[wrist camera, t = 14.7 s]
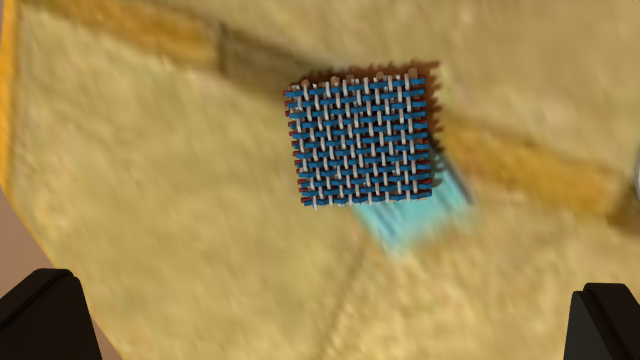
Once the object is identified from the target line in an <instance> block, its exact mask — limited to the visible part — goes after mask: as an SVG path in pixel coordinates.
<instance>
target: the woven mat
mask: <svg viewBox="0 0 640 360" xmlns="http://www.w3.org/2000/svg"><path fill="white" fill-rule="evenodd" d="M330 79H331V84H329V82H326V83H325V82H321V83H318V87H317V86H316V84H313V88H311V86H310V83H309V81H308V79H307V80H303V81H302V83H301V87H302V89H300V87H299V84H298V85H290V86H288V88H289V90H287V91H283V96H286V97H290V101H285V107H286V106H288V108H289V109H290V110H289V111H285V115H286V116H289V117H290V118H292V120H293V122H288V126H289V127H291V129H295V131H292V132H289V136H293V138H295V139H297V141H292V146H294V149H298V151H293V156H296V158H300V160H295V161H294V162H295V166H297V168H298V169H296V172H297V173H298V174H299V177H302V179H299V180H298V185H299V184H301V187H302V188H299V192H301V193H302V196H306V197H302V198H301V203H304V205H305V206H308V205H311V208H314V207H315V209H316V210H318V206H317V205H321V206H322V207H326V205H327V204H329V203H330V206H331V207H333V206H334V205H333V203H335V204H338V206H341V204H342V208H345V203H347V204H349V205H350V206H353V203H358V205H361V202H364V201H366V202H365V204H367V205H368V204H369V205H373V204H372V201H374V202H377V204H379V203H381V201H383V200H386V203H390V202H395V201H399V202H403V201H402V200H403V199H405V200H407V201H408V202H410V199H413V200H415V201H418V199H419V200H425V199H426V197H431V196H432V189H431V188H432V186H431V183H432V178H431V179H425V178H428V177H430V175H431V172H430V170H424V169H430V160H424V159H423V158H424V157H429V150H423V149H429V139H422V137H427V136H428V130H421V128H428V125H427V119H423V120H421V116H426V114H427V113H426V109H420V107H423V106H426V98H422V99H419V95H420V94H425V92H426V91H425V87H419V88H418V84H424V83H425V80H426V77H425V75H418V74H417V68H410V69H409V70H408V74H405V77H403V78H400V74H399V75H398V74H394V75H388V80H387V75H386V76H384V74H383V71H381V72H377V74H376V76H375V78H374V81H370V80H369V78H368V77H365V78H363V79H362V81H361V82H359V79H358V78H357V79H355V81H356V83H355V81H354V75H346V80H343V84H340V78H339V77H336V76H333V77H332V78H330ZM346 82H347V84H346ZM403 85H405V87H406V89H401V86H403ZM387 86H389V91H388V88H387ZM409 87H410V89H409ZM296 88H297V89H296ZM371 88H372V89H375V91H371ZM361 89H362V92H361V93H360V90H361ZM356 90H357V94H356ZM342 91H343V92H344V95H342V93H341V92H342ZM347 91H348V93H347ZM326 93H327V94H326ZM330 93H332V95H333V97H331V95H330ZM303 95H304V97H305V99H303V100H301V96H303ZM312 95H315V98H313V96H312ZM318 95H319V97H320V98H319V97H318ZM402 97H406V99H402ZM410 97H411V99H410ZM374 99H376V103H372V100H374ZM388 99H390V101H388ZM361 100H363V104H361ZM357 102H358V105H357ZM343 103H345V105H346V106H343ZM332 104H335V107H333V105H332ZM314 105H316V109H314ZM319 105H320V106H321V108H320V106H319ZM328 105H329V108H328ZM303 107H306V109H303ZM390 108H391V112H390V111H389V109H390ZM404 108H407V111H403V109H404ZM364 111H365V115H363V112H364ZM373 111H377V113H375V114H374V112H373ZM345 113H346V114H347V116H344V114H345ZM358 113H359V114H360V115H358ZM329 114H330V117H329ZM334 114H336V117H334ZM350 114H351V116H350ZM304 117H308V120H305V118H304ZM316 117H318V118H316ZM404 119H408V121H404ZM391 120H392V122H391ZM374 121H378V124H375V122H374ZM359 122H360V124H359ZM364 122H366V124H364ZM347 124H348V125H347ZM336 125H337V126H336ZM346 125H347V126H346ZM317 126H319V129H317ZM331 126H333V128H332V127H331ZM306 128H309V130H306ZM391 129H393V131H391ZM406 129H409V131H405V130H406ZM375 131H376V132H379V133H376V132H375ZM365 132H367V135H366V133H365ZM361 133H362V135H361ZM333 134H334V138H333ZM347 134H349V136H347ZM337 135H339V137H337ZM308 137H309V138H308ZM318 137H321V138H318ZM324 137H325V138H324ZM306 138H308V139H306ZM406 140H408V141H406ZM379 141H380V144H377V142H379ZM393 141H394V143H392V142H393ZM362 143H363V145H362ZM367 143H368V144H369V145H367ZM320 146H322V149H320ZM325 146H326V148H325ZM309 148H311V149H312V150H309ZM410 149H411V151H409V152H407V150H410ZM393 150H395V152H394V153H393ZM349 154H351V156H349ZM335 155H336V157H335ZM340 156H341V157H340ZM311 157H314V159H311ZM322 157H324V158H322ZM381 161H382V163H381V164H379V162H381ZM364 163H365V165H364ZM368 163H370V164H368ZM328 165H329V167H328ZM340 165H342V166H341V167H340ZM350 165H353V166H350ZM323 166H324V167H325V168H323ZM312 167H315V168H312ZM395 170H396V171H395ZM409 170H412V171H409ZM371 172H372V174H369V173H371ZM380 172H383V173H380ZM352 174H354V175H352ZM357 174H358V175H357ZM315 176H316V177H317V178H314V177H315ZM409 180H413V181H409ZM370 181H371V182H373V183H371V182H370ZM382 181H384V182H383V183H380V182H382ZM343 184H345V185H343ZM326 185H327V186H326ZM315 186H316V187H315ZM411 189H414V190H411ZM373 191H374V192H373ZM371 192H373V193H371ZM354 193H356V194H354Z"/></svg>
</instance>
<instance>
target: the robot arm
mask: <svg viewBox="0 0 640 360" xmlns="http://www.w3.org/2000/svg"><path fill="white" fill-rule="evenodd" d="M634 184H635V188H636V192H637V196H638V199H639V201H640V149H639V151H638V154H637V159H636V163H635V168H634ZM0 360H102V357H101V353H100V350H99V346H98V342H97V339H96V335H95V332H94V328H93V325H92V321H91V317H90V314H89V310H88V307H87V303H86V300H85V296H84V293H83V289H82V286H81V283H80V280H79V279H78V278H77V277H74V275H73V273H72V272H71V271H70V270H67V269H48V268H41V269H37V270H35V271H33V272H32V273H31V274H30V275H29V276H27V277H26V278H25V279H24V280H22V281H21V282H20V283H19V284H18V285H17V286H15V287H14V288H13V289H12V290H10V291H9V292H8V293H7V294H6V295H4V296H3V297H2V298H1V299H0ZM563 360H640V305H639V304H638V302H637V301H636V299H635V298H634V296H633V295H632V293H631V292H630V290H629V289H628V288H627V286H626V285H625V284H620V283H587V284H585V286H584V288H583V291H574V292H573V294H572V298H571V306H570V313H569V321H568V328H567V336H566V343H565V351H564V358H563Z"/></svg>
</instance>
